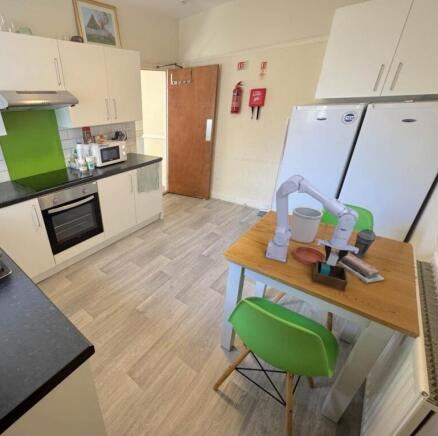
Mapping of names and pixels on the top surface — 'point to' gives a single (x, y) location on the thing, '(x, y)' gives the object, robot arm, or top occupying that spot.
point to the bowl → (308, 255)
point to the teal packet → (324, 269)
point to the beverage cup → (364, 241)
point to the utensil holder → (305, 223)
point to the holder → (331, 276)
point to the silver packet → (332, 258)
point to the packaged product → (360, 269)
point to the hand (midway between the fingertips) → (331, 261)
